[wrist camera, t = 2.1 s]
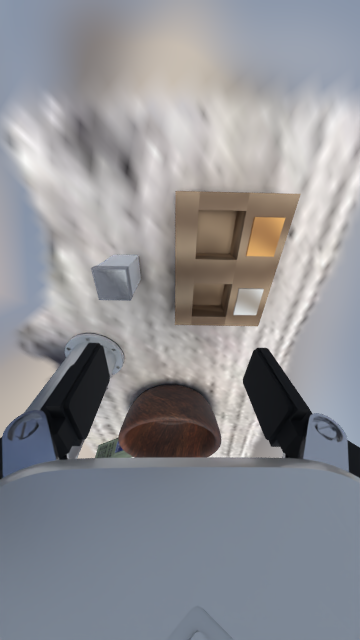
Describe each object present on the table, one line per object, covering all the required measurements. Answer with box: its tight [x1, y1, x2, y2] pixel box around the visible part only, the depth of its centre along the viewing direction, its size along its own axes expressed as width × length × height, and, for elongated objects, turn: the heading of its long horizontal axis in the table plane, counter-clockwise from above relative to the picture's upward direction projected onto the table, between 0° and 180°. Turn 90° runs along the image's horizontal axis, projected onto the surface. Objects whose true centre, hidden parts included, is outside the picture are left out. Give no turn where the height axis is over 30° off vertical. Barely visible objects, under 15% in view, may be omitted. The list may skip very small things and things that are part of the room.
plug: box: [91, 255, 141, 300], centre depth 25 cm, size 4×4×8 cm
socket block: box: [175, 191, 300, 326], centre depth 26 cm, size 18×14×5 cm
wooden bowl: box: [118, 385, 221, 458], centre depth 46 cm, size 25×25×10 cm
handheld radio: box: [95, 438, 133, 458], centre depth 59 cm, size 7×3×25 cm
